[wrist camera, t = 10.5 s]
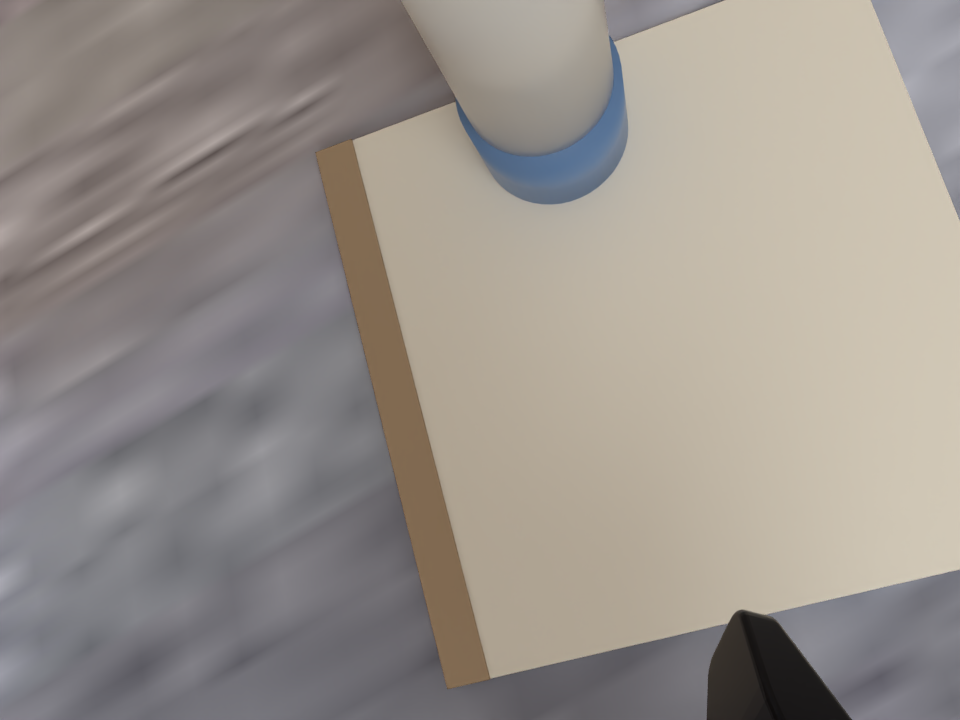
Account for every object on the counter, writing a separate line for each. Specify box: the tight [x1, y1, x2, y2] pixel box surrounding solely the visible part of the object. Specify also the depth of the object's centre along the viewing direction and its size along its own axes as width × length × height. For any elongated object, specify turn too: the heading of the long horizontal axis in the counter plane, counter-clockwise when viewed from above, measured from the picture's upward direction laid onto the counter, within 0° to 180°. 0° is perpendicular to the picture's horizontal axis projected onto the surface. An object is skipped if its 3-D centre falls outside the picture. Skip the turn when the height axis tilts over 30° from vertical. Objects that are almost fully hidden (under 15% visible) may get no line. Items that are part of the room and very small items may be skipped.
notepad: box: [315, 0, 960, 689], centre depth 21 cm, size 16×16×1 cm
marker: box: [401, 0, 628, 205], centre depth 16 cm, size 4×4×13 cm
